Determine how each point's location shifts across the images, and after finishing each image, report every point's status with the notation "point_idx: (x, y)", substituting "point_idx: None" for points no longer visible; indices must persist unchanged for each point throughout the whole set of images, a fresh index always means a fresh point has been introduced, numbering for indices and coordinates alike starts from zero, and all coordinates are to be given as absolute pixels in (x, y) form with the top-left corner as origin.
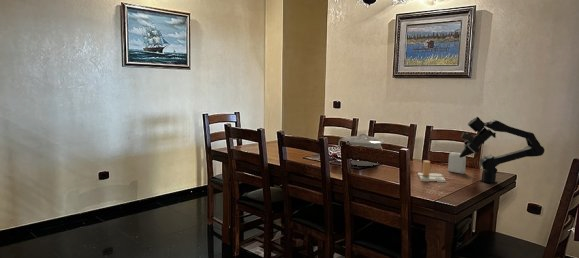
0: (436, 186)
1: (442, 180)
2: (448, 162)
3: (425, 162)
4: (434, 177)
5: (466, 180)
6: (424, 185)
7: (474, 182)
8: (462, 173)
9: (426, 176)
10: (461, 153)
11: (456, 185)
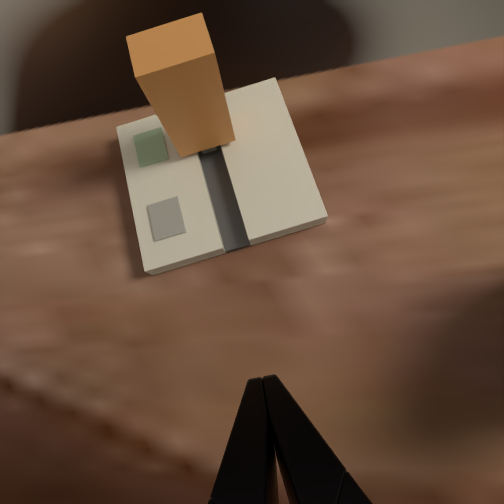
0: (28, 236)
1: (143, 253)
2: None
3: (129, 46)
4: (181, 193)
5: None
6: (28, 172)
7: None
8: None
9: None
10: (256, 432)
11: (102, 355)
